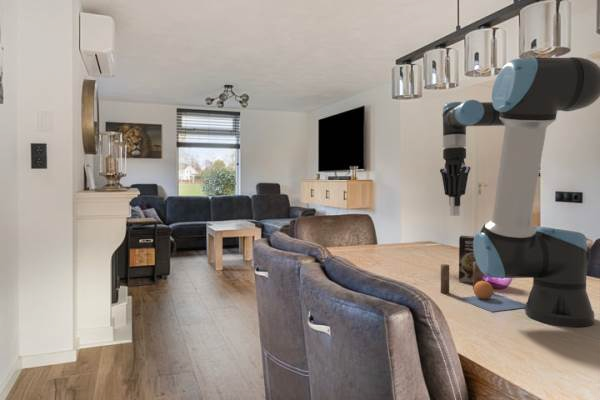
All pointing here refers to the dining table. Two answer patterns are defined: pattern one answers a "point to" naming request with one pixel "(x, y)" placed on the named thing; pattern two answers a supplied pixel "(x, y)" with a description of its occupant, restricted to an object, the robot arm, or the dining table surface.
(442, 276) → the post left
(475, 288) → the ball
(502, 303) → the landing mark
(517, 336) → the dining table surface
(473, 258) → the coffee box
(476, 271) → the post right
